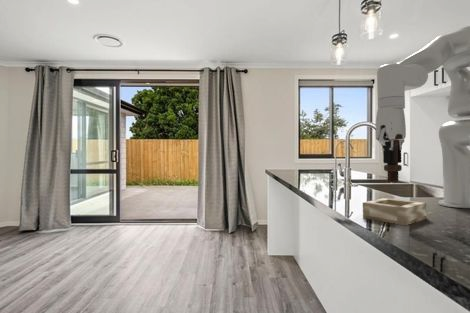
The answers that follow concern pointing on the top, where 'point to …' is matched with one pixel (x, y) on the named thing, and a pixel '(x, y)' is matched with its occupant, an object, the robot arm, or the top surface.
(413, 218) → the socket block
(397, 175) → the bolt
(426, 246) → the top surface
